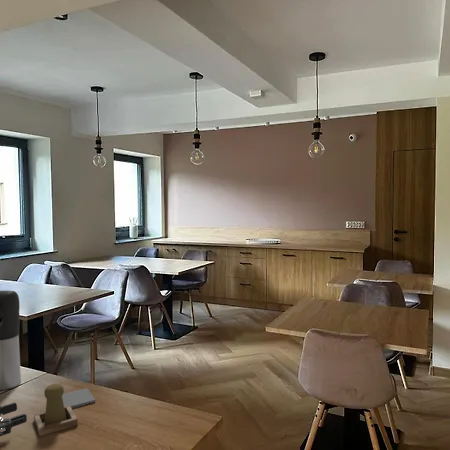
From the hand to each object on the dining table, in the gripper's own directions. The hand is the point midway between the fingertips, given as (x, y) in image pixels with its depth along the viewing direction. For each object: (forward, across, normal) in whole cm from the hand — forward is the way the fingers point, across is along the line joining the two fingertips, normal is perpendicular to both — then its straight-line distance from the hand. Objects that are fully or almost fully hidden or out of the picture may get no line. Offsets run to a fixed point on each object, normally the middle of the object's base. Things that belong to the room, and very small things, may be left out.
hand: (21, 411), depth 116 cm
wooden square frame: (+9, 0, +7) cm, 11 cm away
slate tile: (+19, +9, +7) cm, 22 cm away
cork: (+9, 0, +7) cm, 11 cm away
